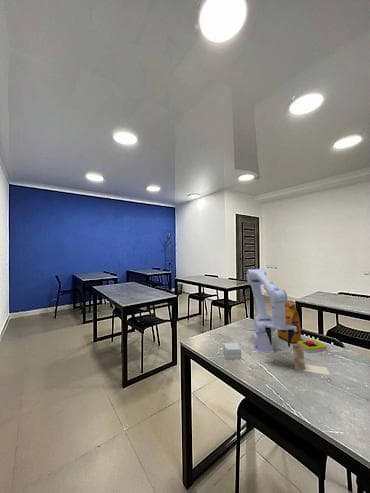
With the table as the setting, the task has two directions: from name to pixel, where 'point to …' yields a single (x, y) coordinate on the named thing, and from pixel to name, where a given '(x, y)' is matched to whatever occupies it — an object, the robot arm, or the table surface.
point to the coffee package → (291, 323)
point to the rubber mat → (316, 369)
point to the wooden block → (298, 357)
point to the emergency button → (312, 346)
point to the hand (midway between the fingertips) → (279, 344)
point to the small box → (232, 351)
